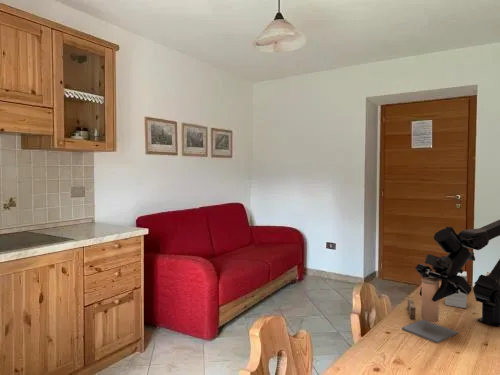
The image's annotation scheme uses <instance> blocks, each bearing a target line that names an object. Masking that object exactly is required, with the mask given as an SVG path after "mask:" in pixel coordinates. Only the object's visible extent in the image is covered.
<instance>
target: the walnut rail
mask: <svg viewBox="0 0 500 375" xmlns="http://www.w3.org/2000/svg"><path fill="white" fill-rule="evenodd" d="M407 310H408V314H409V320H416V305H415V302H414V299H413V296H412V297H411V296H408V297H407Z"/></svg>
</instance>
